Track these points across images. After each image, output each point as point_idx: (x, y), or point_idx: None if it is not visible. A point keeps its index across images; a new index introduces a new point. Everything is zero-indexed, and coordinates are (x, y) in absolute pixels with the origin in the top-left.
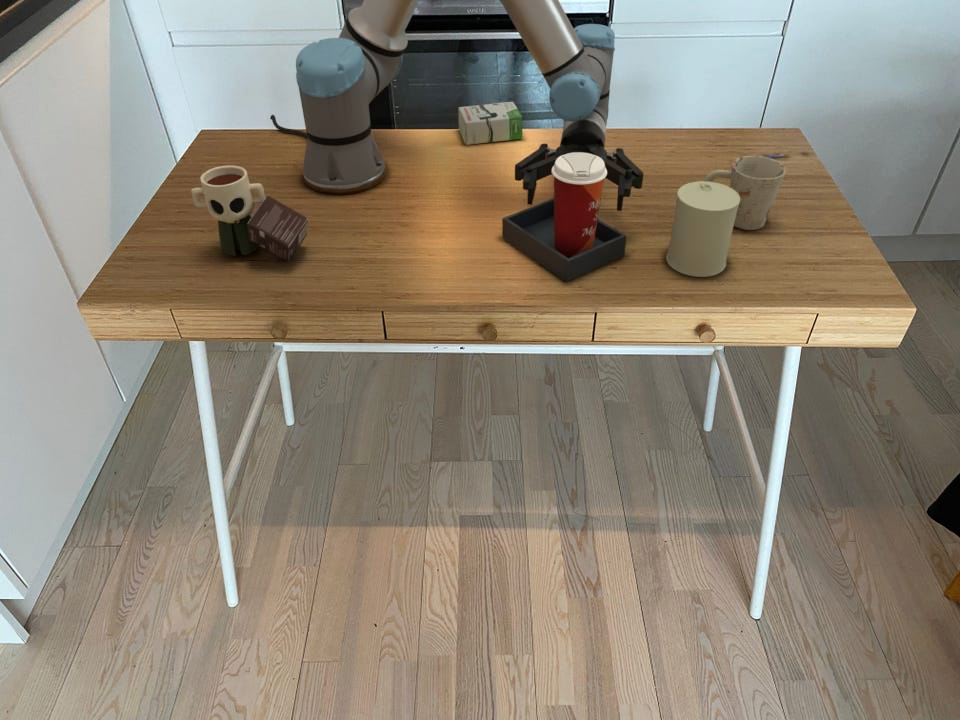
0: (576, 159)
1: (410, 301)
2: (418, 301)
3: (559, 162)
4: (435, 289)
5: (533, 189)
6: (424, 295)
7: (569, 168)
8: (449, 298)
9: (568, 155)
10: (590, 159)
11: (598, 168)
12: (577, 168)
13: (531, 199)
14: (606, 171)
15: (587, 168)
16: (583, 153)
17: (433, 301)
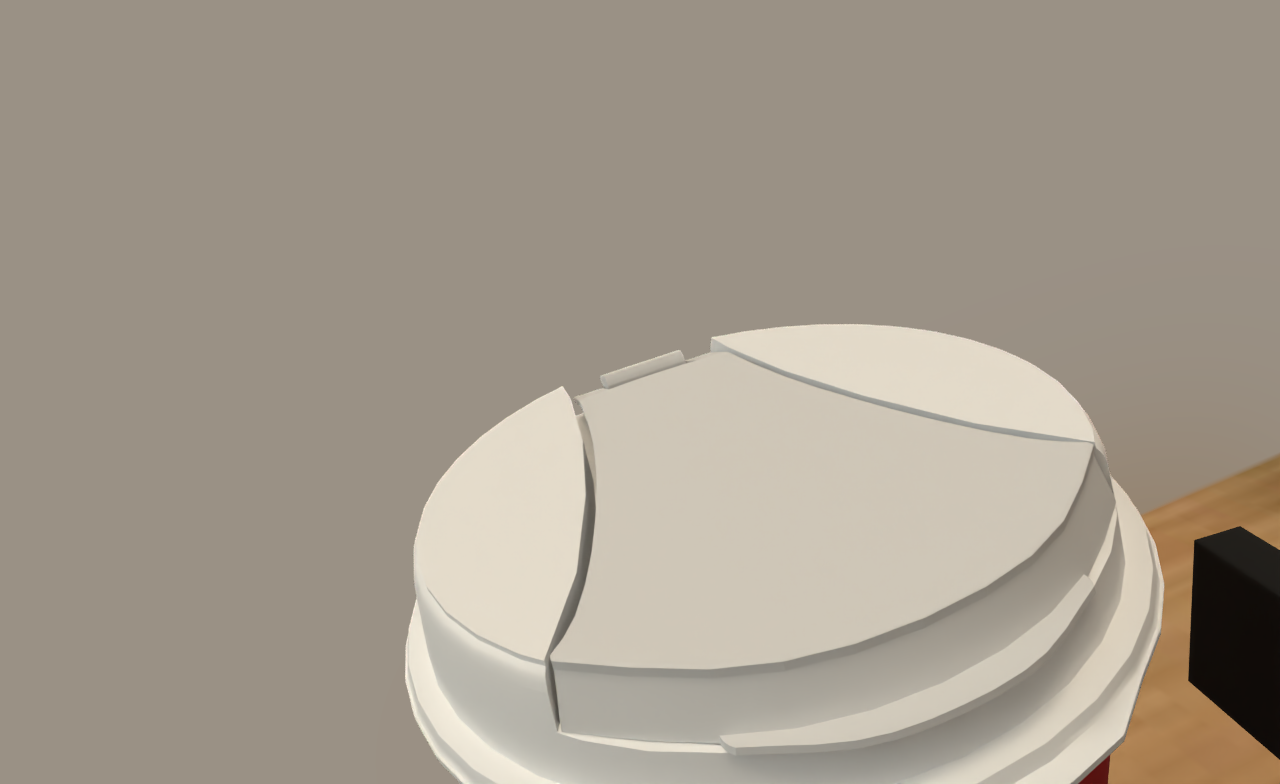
0: (816, 472)
1: (1259, 472)
2: (1235, 482)
3: (968, 366)
4: (1267, 542)
5: (1266, 636)
6: (1258, 507)
7: (789, 356)
8: (1155, 533)
9: (995, 486)
10: (622, 539)
11: (486, 459)
12: (708, 379)
13: (1199, 635)
14: (411, 633)
15: (606, 416)
16: (807, 626)
17: (1188, 502)
